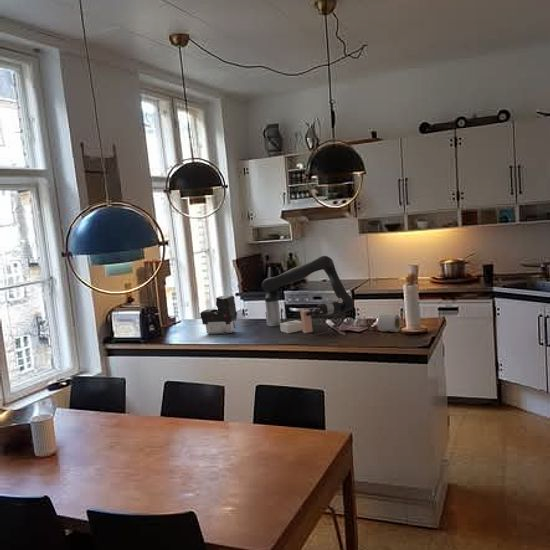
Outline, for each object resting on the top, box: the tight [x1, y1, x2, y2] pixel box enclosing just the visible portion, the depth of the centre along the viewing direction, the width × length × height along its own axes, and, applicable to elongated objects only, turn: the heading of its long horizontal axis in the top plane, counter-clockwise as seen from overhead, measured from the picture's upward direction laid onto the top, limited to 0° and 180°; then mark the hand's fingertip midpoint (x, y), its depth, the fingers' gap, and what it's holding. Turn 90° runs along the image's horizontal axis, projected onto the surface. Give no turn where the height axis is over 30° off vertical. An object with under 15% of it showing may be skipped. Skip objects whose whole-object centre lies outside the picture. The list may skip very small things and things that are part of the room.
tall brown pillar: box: [300, 309, 314, 334], centre depth 347 cm, size 5×4×14 cm
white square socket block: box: [279, 319, 302, 334], centre depth 357 cm, size 12×10×6 cm
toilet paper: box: [377, 314, 402, 333], centre depth 330 cm, size 10×10×10 cm
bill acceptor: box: [199, 294, 238, 335], centre depth 375 cm, size 10×23×25 cm, turn 70°
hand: (303, 313), depth 346 cm, fingers open, 8 cm apart
